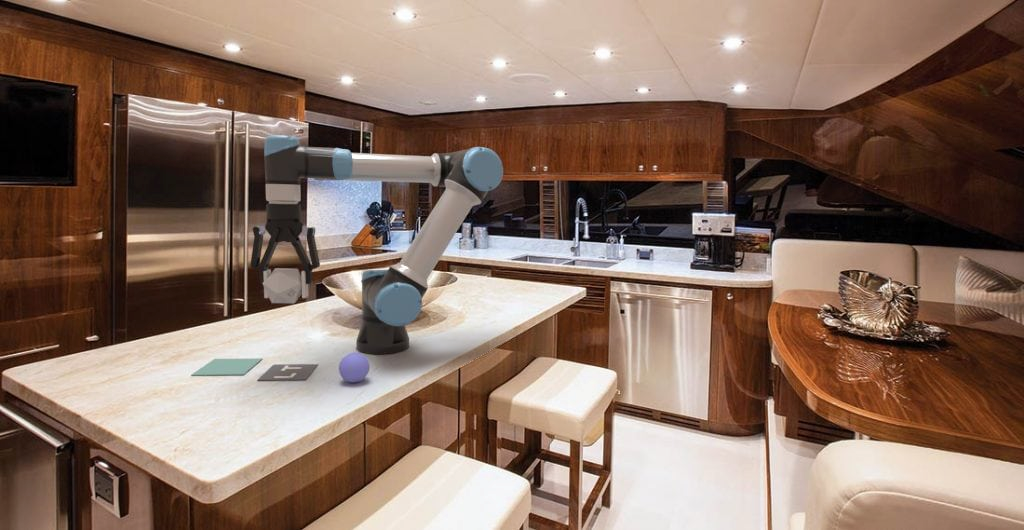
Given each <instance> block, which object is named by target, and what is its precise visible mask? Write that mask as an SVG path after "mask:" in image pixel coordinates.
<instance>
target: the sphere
mask: <svg viewBox="0 0 1024 530" xmlns="http://www.w3.org/2000/svg"><path fill="white" fill-rule="evenodd" d="M369 370H370V363H369V360H368V358H367V357H366V356H365V355H364V354H363V353H361V352H351V353H348V354H346V355H344V357H342V359H341V360H340V362H339V364H338V372H339V375H340V377H341V378H342V379H343V380H344V381H346V382H349V383H359V382H361V381H362V380H364V379H365V378H366V377H367V376H368V374H369V372H370V371H369Z"/></svg>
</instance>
